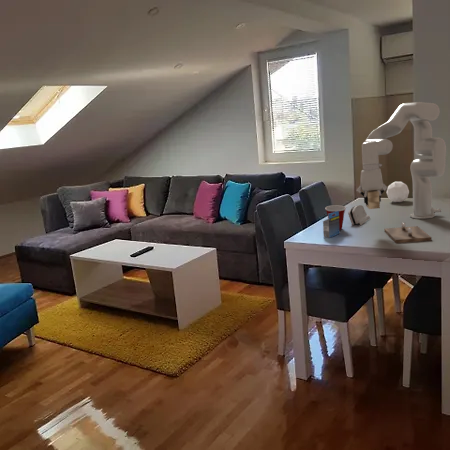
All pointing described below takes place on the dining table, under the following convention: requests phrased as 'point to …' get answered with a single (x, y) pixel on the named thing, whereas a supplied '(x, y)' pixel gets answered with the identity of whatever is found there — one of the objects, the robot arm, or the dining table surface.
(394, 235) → the stub plate
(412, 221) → the dining table surface
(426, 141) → the robot arm
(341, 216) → the plastic cup
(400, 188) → the geodesic sphere
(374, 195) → the maple block
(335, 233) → the label tape box
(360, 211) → the white rounded slab
